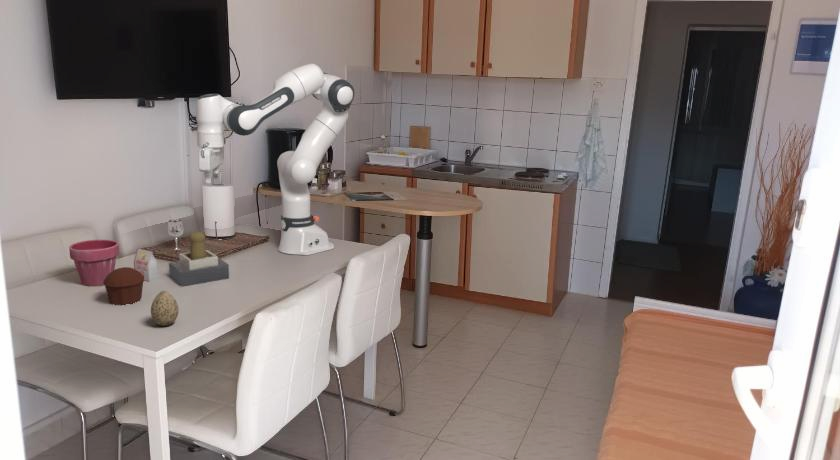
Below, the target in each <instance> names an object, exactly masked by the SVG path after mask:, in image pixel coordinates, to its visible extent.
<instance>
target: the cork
mask: <svg viewBox="0 0 840 460" xmlns="http://www.w3.org/2000/svg"><path fill="white" fill-rule="evenodd" d="M188 240H189V242H190V251H189V252H190V259H191V260H193V259H199V258H206V257H207V256H206V251H205V250H206V246H205V240H206V235H205V232H202V231H193V232H191V233H190V234H189V236H188Z"/></svg>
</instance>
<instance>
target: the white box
mask: <svg viewBox="0 0 840 460" xmlns="http://www.w3.org/2000/svg"><path fill="white" fill-rule="evenodd" d="M133 269H135V270H137V271H139V272H140V273H141V274H142V275H143V276H144V282H148V283H150V282H153V281H157V280H158V279H159V272H158V271H159V269H158V262H157V260H156V258H155V256H154V253H153V251H149V250H145V249H141V248H137V249H136V253H135V256H134V259H133Z"/></svg>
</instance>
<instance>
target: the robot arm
mask: <svg viewBox="0 0 840 460" xmlns="http://www.w3.org/2000/svg"><path fill="white" fill-rule="evenodd" d="M273 82H274V83H273V89H272V90H273V91H272V92H271V93H270V94H269V95H267V96H265V97H263V98H261V99H260V100H258V101H257V102H255V103H252V104H249V105H248V104H247V105H246V104H245V105H243V104H239V103H235V102H232V101H230V100H229V99H226V98H225V97H223V96H222V95H220V94H219V93H207V94H203V95H202V94H201V95H200V96H199V97H198V98H197V99H196V100H197V101H196V105H195V114H196V115H195V118H196V119H195V120H196V123H197V130H196V139H197V140H196V141H197V147H199V148H200V149H199V151H198V169H199V172H200V173H203V175H204V178H205V184H211V183H213V179H214V180H216V179H219V176H220V175H219V172H220V166H221V165H223V164H224V159H225V145H226V141H227V140H226V138H225V137H224V136H225V135H224V133H225V131H226V130H228V131H231V132H233V133H235V134H237V135H239V136H243V137H244V136H249V135H252V134H254V132H255V131H257V129H258V128H259V127H260V125H261V124H262V123H263V122H264V121H265V120H267V119H268V118H270V117H271V116H273V115H274V114H277V113H278V112H280V111H282V110H283V109H285V108H286V107H289V106H291V105H294V104H296V103H298V102H300V101H302V100H304V99H306V98H308V97H310V96H312V97H314V98H315V99H316V100H319V101H320V102H322V107H321V109H320V111H319V113H318V114H317V115H316V116H315V118H314V119H313V120H312V122H310V124H309V125H308V127H307V128H306V130H304V132H303V133H302V135H301V138H300V141H299V143H298V144H297V147H296V148H295V150H288V151H285V152H282V153H281V154H280V155H279V157H278V158H277V161H276V163H277V164H276V165H277V170H278V179H279V186H280V192H281V193H280V194H281V215H280V229H281V233H280V234H281V235H280V242H279V245H278V249H277V250H278V251H279V252H280V253H283V254H287V255H288V254H289V255H300V256H301V255H302V256H310V255H314V254H319V253H323V252H326V251H330V250H334V249H335V244H334V243H332V242H330V241H329V236H328V233H327V232H326V231H325V230H324V229H323V228H321V227H320V226H318V225H317V224H316V223H317V222H319V220H320V217H319V216H316V215H315V216H314V215H312V214H311V193H310V191H309V185H308V184H309V183H310V182H312V181H313V180H314V179H315V177H316V174H317V170H318V167H319V166H320V164H321V162H322V160H323V158H324V156H325V154H326V152H327V151H328V149H329V148H330V147H331V146H332V144H333V143H334V141H335V140H336V139H337V137H339V135H340V133H341V131H342V130H343V129H344V127H345V125H346V124H347V121H348V119H349V111H348V110H349V109H350V107H351V105H352V103H353V101H354V98H355V93H356V92H355V88H354V85H352V84H351V83H350V82H349V81H348V80H346V79H343V78H341V77H339V76H337V75H333V74H329V73H328V72H323V70H322V68H321V67H320V66H319V65H317V64H315V63H307V64H304V65H301V66H298V67H295V68H293V69H291V70H289V71H287V72H285V73H284V74H282V75H280V76H279V77H277V79H275V81H273ZM315 222H316V223H315Z"/></svg>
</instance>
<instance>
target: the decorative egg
mask: <svg viewBox="0 0 840 460" xmlns="http://www.w3.org/2000/svg"><path fill="white" fill-rule="evenodd" d="M150 315H151V318H152V320H153V321H154V322H155V324H157V325H158V326H164V327H165V326H169V325H172V324H173V323H174V322H175V321H176V320H177V318H178V315H179V305H178V302H177V300H176V298H175V297H174V296H173V295H172V294H171V293H170V292H169V291H166V290H162V291H160V292H158V294H157V295H156V296H155V297H154V298H153V300H152V302H151V307H150Z"/></svg>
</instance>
